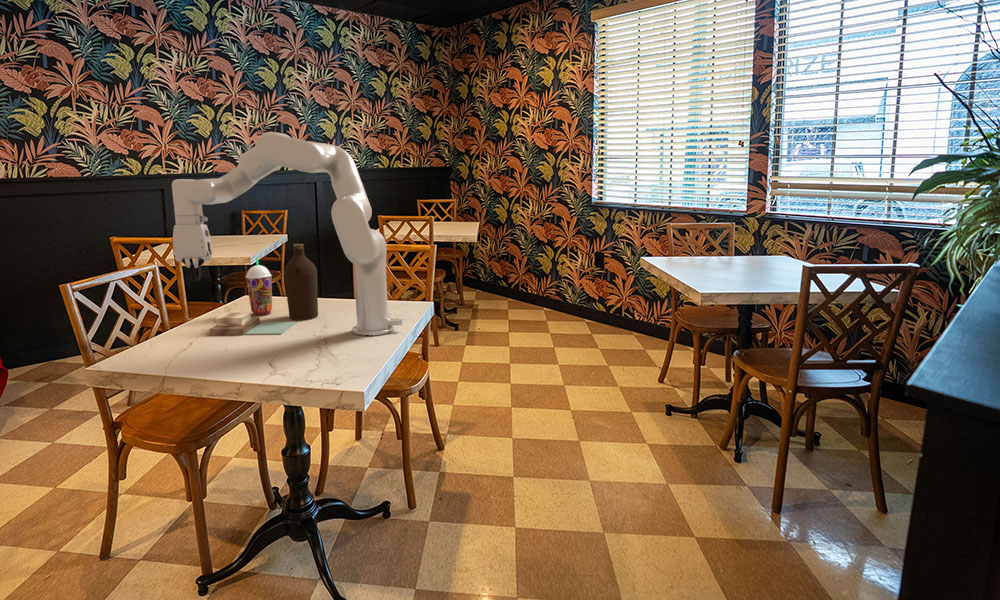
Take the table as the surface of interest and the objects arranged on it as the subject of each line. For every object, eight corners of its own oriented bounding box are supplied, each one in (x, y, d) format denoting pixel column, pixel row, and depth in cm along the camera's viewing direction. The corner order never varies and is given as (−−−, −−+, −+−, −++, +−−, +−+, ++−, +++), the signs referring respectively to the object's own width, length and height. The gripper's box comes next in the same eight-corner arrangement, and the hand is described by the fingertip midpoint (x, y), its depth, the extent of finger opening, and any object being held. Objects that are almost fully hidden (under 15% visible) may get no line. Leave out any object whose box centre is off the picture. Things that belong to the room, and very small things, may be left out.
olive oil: (325, 317, 203) (320, 244, 198) (294, 322, 196) (288, 247, 191) (312, 311, 211) (307, 241, 206) (282, 316, 205) (276, 244, 199)
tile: (250, 320, 192) (250, 312, 191) (242, 325, 185) (241, 317, 185) (225, 320, 192) (225, 312, 191) (216, 326, 185) (215, 318, 184)
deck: (260, 323, 196) (259, 317, 195) (243, 334, 182) (242, 328, 182) (229, 323, 196) (228, 317, 195) (210, 335, 182) (209, 328, 181)
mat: (295, 322, 196) (295, 321, 196) (281, 334, 182) (281, 333, 182) (261, 323, 196) (261, 322, 196) (245, 334, 182) (244, 333, 182)
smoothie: (266, 317, 204) (261, 259, 199) (244, 316, 205) (238, 258, 201) (279, 311, 212) (274, 255, 207) (257, 310, 213) (252, 255, 209)
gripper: (219, 219, 185) (225, 277, 189) (170, 219, 185) (177, 277, 189) (208, 221, 178) (214, 282, 182) (158, 221, 177) (164, 282, 181)
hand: (195, 279), depth 185 cm, fingers closed
